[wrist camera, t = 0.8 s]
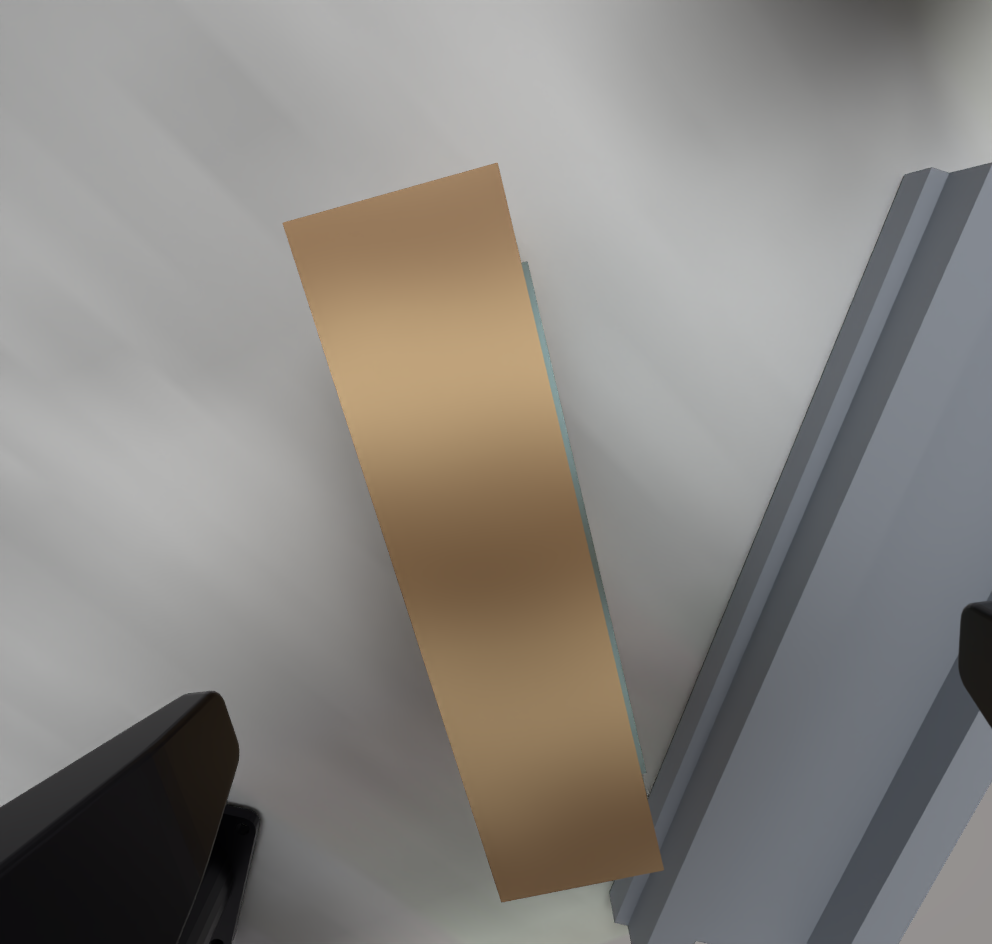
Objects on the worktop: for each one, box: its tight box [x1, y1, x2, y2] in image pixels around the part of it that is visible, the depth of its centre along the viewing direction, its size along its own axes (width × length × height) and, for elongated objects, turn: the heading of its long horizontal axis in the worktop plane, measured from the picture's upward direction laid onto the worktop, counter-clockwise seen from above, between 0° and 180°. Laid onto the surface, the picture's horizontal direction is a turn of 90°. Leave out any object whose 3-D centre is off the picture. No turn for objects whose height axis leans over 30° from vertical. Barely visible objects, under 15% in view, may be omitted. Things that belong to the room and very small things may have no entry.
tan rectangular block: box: [283, 163, 664, 902], centre depth 17 cm, size 14×4×9 cm, turn 14°
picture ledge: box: [609, 163, 992, 944], centre depth 21 cm, size 26×9×3 cm, turn 164°
